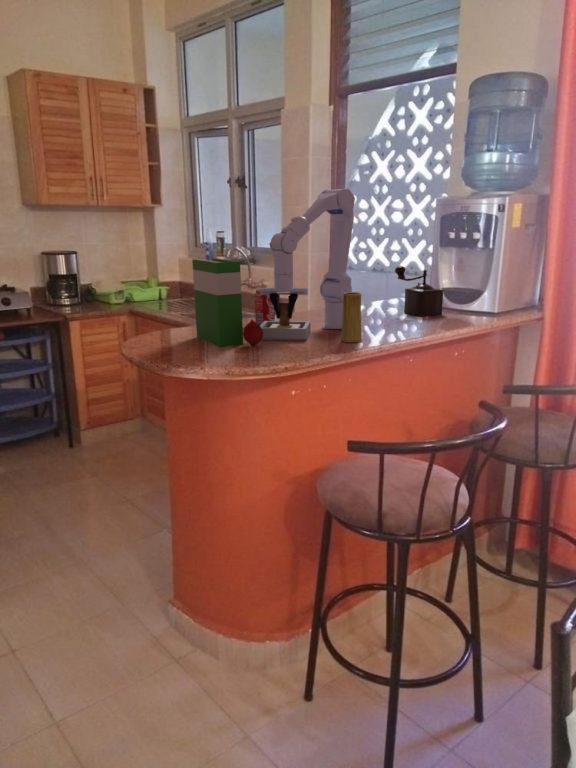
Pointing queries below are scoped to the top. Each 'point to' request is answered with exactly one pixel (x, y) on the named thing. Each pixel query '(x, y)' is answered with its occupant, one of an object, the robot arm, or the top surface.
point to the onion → (253, 333)
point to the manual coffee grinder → (421, 297)
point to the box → (286, 330)
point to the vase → (351, 317)
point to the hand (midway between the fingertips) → (284, 318)
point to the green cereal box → (218, 301)
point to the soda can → (263, 308)
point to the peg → (284, 314)
